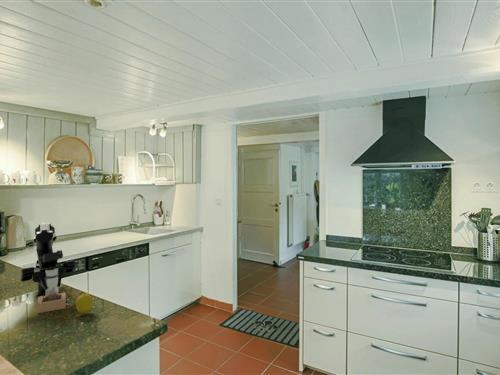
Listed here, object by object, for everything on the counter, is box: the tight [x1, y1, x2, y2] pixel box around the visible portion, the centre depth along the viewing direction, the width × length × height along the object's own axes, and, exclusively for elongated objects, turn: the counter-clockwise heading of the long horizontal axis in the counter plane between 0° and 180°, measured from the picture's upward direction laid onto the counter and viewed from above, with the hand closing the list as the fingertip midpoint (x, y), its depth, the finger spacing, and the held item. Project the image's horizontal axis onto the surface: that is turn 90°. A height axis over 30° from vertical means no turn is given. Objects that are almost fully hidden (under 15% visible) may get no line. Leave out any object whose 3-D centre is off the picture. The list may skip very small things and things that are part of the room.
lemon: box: [75, 292, 94, 315], centre depth 116 cm, size 6×6×8 cm
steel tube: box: [45, 268, 59, 302], centre depth 124 cm, size 5×5×14 cm
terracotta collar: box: [36, 292, 67, 314], centre depth 124 cm, size 9×9×4 cm
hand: (52, 288), depth 123 cm, fingers closed on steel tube, 4 cm apart
